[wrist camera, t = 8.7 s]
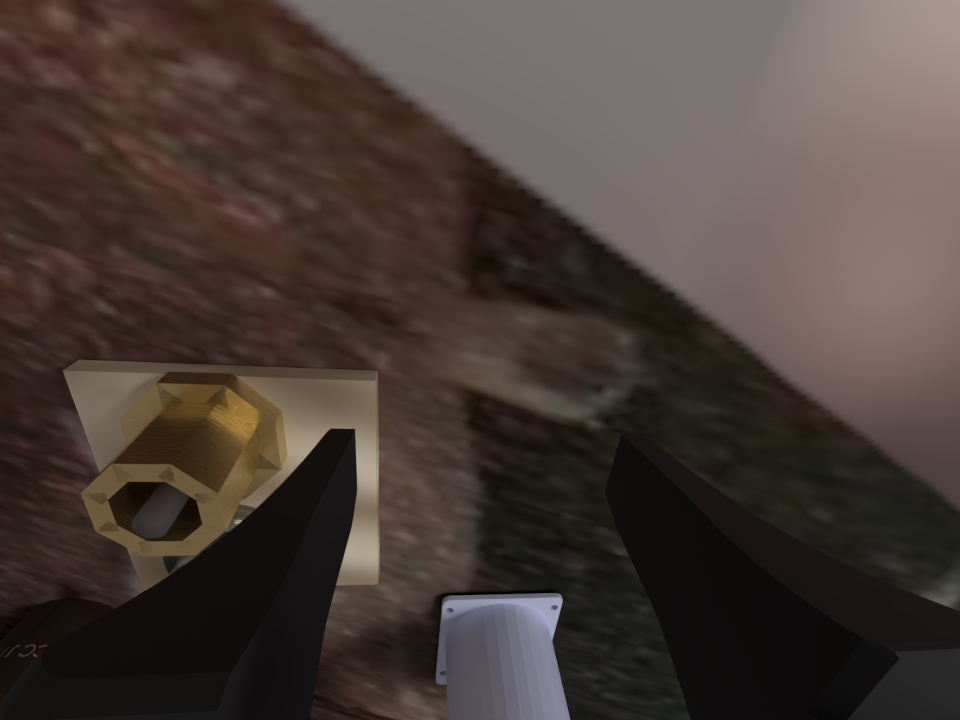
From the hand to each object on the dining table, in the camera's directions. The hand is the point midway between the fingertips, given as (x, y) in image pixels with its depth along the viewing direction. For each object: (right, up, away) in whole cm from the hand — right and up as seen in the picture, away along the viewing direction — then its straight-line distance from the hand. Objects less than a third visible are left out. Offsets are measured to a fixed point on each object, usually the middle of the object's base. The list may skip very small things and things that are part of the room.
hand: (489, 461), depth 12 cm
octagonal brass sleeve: (-13, -1, +9) cm, 16 cm away
